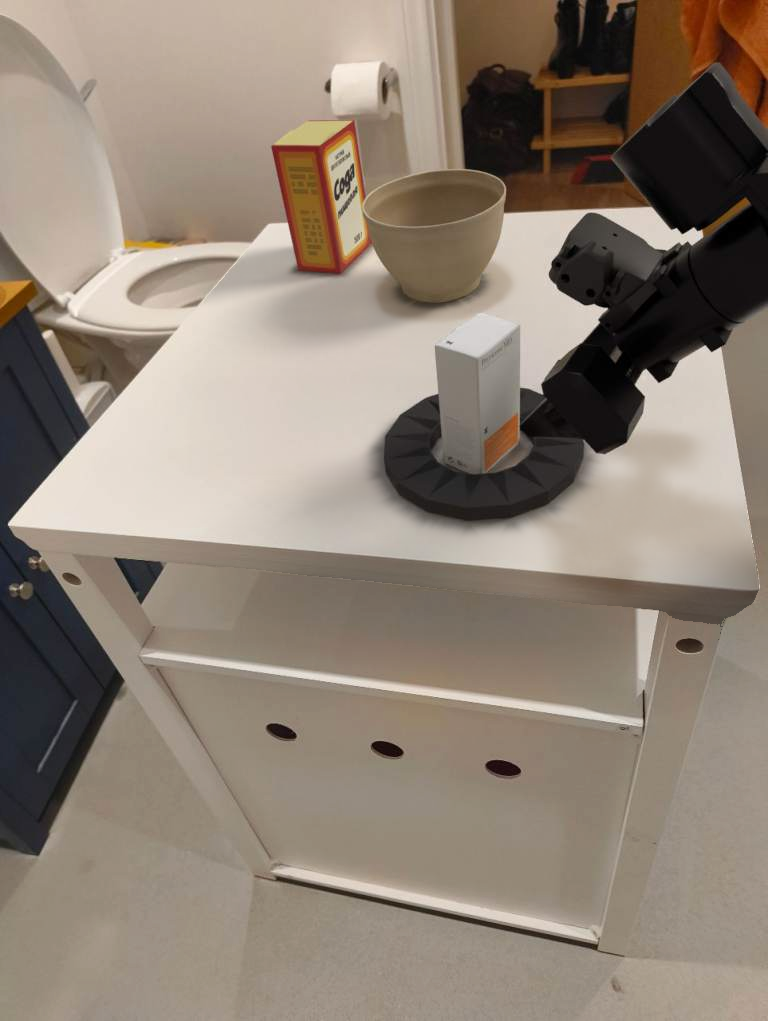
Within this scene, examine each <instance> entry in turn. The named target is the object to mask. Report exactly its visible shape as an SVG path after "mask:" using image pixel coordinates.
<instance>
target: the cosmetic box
mask: <svg viewBox="0 0 768 1021" xmlns="http://www.w3.org/2000/svg"><path fill="white" fill-rule="evenodd" d="M434 355H435V356H434V357H435V368H436V382H437V392H438V393H437V394H438V395H439V408H440V419H441V432H442V437H441V443H442V444H441V445H442V455H443V462H444V464H447V465H449V466H451V467H453V468H456V469H457V470H460V471H461V472H464V473H469V474H484V473H489V472H490V471H491V470H492V469H493V468H494V467H495V466H496V465H497V464H498V463H499V462H500V461H501V460H502V459H504V458H505V457H506V456H507V455H508V454H510V452H512V451H513V450H514V449H515V448H516V447H517V446H519V445H520V441H521V440H520V437H521V436H520V435H521V434H520V433H521V431H520V428H519V425H520V388H521V324H520V323H517V322H514V321H511V320H507V319H503V318H499V317H497V316H493V315H490V314H487V313H483V312H478V313H477V314H475V315H474V316H473V317H471V318H470V319H468V320H467V321H466V322H464V323H461V324H460V325H459V326H457V327H456V328H455V329H454V330H452V331H451V332H450V333H449V334H448V335H446V336H445V337H443V338H442V339H441V340H440V341H438V342H437V343H436V344H435V345H434Z"/></svg>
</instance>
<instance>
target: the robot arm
mask: <svg viewBox="0 0 768 1021" xmlns="http://www.w3.org/2000/svg"><path fill="white" fill-rule="evenodd" d="M610 159H611V160H612V162H613V163H614V164H615V166H617V168H618V169H619V170H620V171H621V172H622V174H623V175H624V176H625V177H626V178H627V180H629V182H630V183H631V184H632V186H633V187H634V188H635V190H637V192H638V193H639V194H640V195H641V196H642V198H644V199H645V201H646V202H647V204H648V205H649V206H650V207H651V208H652V210H654V212H655V213H656V214H657V215H658V217H659V218H660V219H661V220H662V221H663V222H664V224H665V225H666V226H667V227H668V228H669V230H671V231H673V230H675V229H677V230H678V232H679V233H680V234H681V235H684V234H686V233H688V232H689V231H691V230H692V229H694V230H696V232H701V231H703V230H704V229H706V228H708V227H709V226H711V225H713V224H714V223H715V222H717V221H718V220H719V219H720V218H722V217H723V216H725V215H726V214H727V213H728V212H729V211H731V210H732V209H733V208H735V206H736V205H738V204H739V203H741V202H742V201H743V200H744V199H746V200H747V201H748V202H749V203H748V204H746V205H745V206H743V207H742V208H740V209H739V210H738V211H737V212H735V213H733V214H732V215H731V216H730V217H729V218H727V219H725V220H724V221H723V222H722V223H720V224H718V226H716V227H715V228H714V229H712V230H711V231H710V232H707V234H705V235H704V236H702V238H700V239H698V240H697V241H696V242H695V243H693V244H691V243H690V242H689V241H688V240H687V241H686V242H684V243H683V244H682V243H681V242H677V243H675V244H674V245H673V246H671V247H670V248H669V249H659V248H655V247H653V246H651V245H650V244H649V242H647V241H646V240H645V239H644V238H642V237H641V236H639V235H638V234H636V233H634V232H632V231H631V230H629V229H627V228H626V227H624V226H623V225H620V224H618V223H617V222H615V221H613V220H612V219H610V218H608V217H606V216H604V214H603V215H602V214H600V213H598V212H587V213H586V214H583V216H582V217H581V218H580V220H579V221H578V222H577V223H576V224H575V225H574V227H573V228H572V229H570V231H569V232H568V234H567V236H566V237H565V240H564V242H563V243H562V245H561V248H560V250H559V252H558V253H557V254H556V256H555V257H554V258H553V259H552V261H551V264H550V269H549V271H548V278H549V279H550V281H551V282H552V283H553V284H554V285H555V286H556V289H557V290H558V292H561V293H562V294H563V295H565V296H567V297H569V298H571V299H573V300H574V301H576V302H578V303H579V304H580V305H583V306H586V307H588V306H593V305H595V306H596V307H599V308H602V309H606V310H605V311H604V312H602V314H601V315H600V316H599V317H598V319H597V321H598V324H597V325H596V326H595V327H594V328H593V329H592V331H590V332H589V334H588V335H587V336H586V337H585V338H584V340H582V342H581V343H579V344H577V345H576V346H574V347H573V348H572V349H570V350H569V351H568V352H567V353H566V354H564V355H563V356H562V357H561V358H560V359H558V360H557V361H556V362H555V364H554V365H553V366H552V368H551V369H550V370H549V372H548V373H547V375H546V376H545V377H544V379H543V381H542V382H541V383H540V386H541V387H540V388H541V391H542V395H543V396H544V397H545V399H544V400H543V401H542V402H541V403H540V404H539V405H538V406H537V407H536V408H535V409H534V410H533V411H532V412H531V413H530V414H529V415H528V416H527V417H526V418H525V420H524V421H523V422H522V423H521V424H520V425H519V428H520V429H521V430H522V431H523V432H524V433H525V434H526V435H527V436H529V437H564V438H576V439H583V441H584V442H585V443H586V444H587V446H589V447H590V449H592V451H594V453H595V454H599V455H606V454H608V453H610V452H612V451H615V450H616V449H617V448H620V447H622V446H624V445H626V444H627V443H628V441H629V440H630V438H631V436H632V434H633V432H634V431H635V428H636V427H637V425H638V423H639V421H640V420H641V418H642V416H643V414H644V411H645V410H644V409H645V401H646V396H645V395H644V393H643V392H641V390H640V388H638V387H637V386H636V384H637V382H638V381H639V379H640V377H641V375H642V374H643V372H644V371H645V370H646V371H647V372H648V373H649V374H650V375H651V377H652V378H653V379H654V380H655V381H656V382H657V383H658V384H660V383H662V382H664V381H665V380H667V379H669V378H671V377H672V375H673V374H674V372H675V370H676V369H677V366H678V364H679V362H680V361H681V360H683V359H686V358H687V357H688V356H690V355H692V354H693V353H695V352H697V351H698V350H700V349H702V348H704V347H706V348H707V349H708V350H709V352H710V353H713V352H715V351H717V350H719V349H720V348H722V347H724V346H726V345H727V343H728V340H729V338H730V337H731V335H732V332H733V330H734V329H735V328H737V327H739V326H740V325H742V324H743V323H745V322H746V321H748V320H750V319H752V318H753V317H755V316H756V315H759V314H760V313H762V312H763V311H765V310H767V309H768V129H767V127H766V126H765V125H764V123H763V122H762V121H761V119H760V118H759V117H758V116H757V114H756V113H755V112H754V111H753V109H752V108H751V107H750V106H749V104H748V103H747V102H746V100H745V99H744V98H743V97H742V95H741V94H740V92H739V91H738V88H737V85H736V83H735V81H734V79H733V77H732V76H731V75H730V73H729V71H727V69H726V68H725V67H724V66H723V65H722V63H721V62H713V63H712V64H711V65H710V66H709V67H707V69H706V70H704V72H702V73H701V75H699V76H698V77H697V78H696V79H694V81H692V82H691V83H690V84H689V85H688V86H687V87H686V88H685V89H683V90H682V91H681V92H680V93H679V94H678V95H676V94H675V93H674V94H673V95H672V96H670V98H668V100H667V101H665V103H663V104H662V105H661V107H659V108H658V109H657V111H655V112H654V113H653V114H652V115H651V116H650V117H649V118H648V119H647V120H646V121H645V122H644V123H643V124H642V125H641V126H640V127H639V128H638V129H636V130H635V131H634V132H633V133H632V135H631V136H629V137H628V138H627V139H626V140H625V141H624V142H623V144H621V145H620V146H619V147H618V148H617V150H616V151H614V152H613V154H611V155H610ZM522 431H521V432H522ZM523 432H522V433H523ZM524 433H523V434H524ZM525 434H524V435H525ZM526 435H525V436H526ZM527 436H526V437H527Z"/></svg>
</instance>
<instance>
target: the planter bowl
mask: <svg viewBox="0 0 768 1021" xmlns="http://www.w3.org/2000/svg"><path fill="white" fill-rule="evenodd" d="M365 197H366V198H365V199H364V201H363V204H362V212H363V216H364V219H365V221H366V223H367V228H368V232H369V236H370V239H371V242H372V243H371V245H372V247H373V250H374V252H375V253H376V256H377V258H378V259H379V261H380V263H381V264H382V265H383V267H384V268H385V269H386V271H387V272H388V273H389V274H390V276H391V277H393V278H394V279H395V280H396V282H398V283H399V284H400V287H401V289H402V292H403V293H404V295H405V296H407V297H408V298H410V299H412V300H415V301H418V302H423V303H445V302H451V301H455V300H458V299H461V298H464V297H466V296H467V295H470V294H471V293H473V292H474V291H475V290H476V289H477V288H478V287H479V285H480V283H481V279H482V274H483V272H484V271H485V270H486V268H487V267H488V264H489V263H490V262H491V261H492V258H493V256H494V254H495V252H496V249H497V246H498V244H499V241H500V238H501V234H502V230H503V225H504V218H505V217H504V215H505V203H506V200H507V199H506V197H507V186H506V185H505V183H504V181H503V180H502V179H500V177H497V176H496V175H493V174H491V173H488V172H486V171H485V172H484V171H481V170H475V169H468V168H448V169H433V170H427V171H422V172H416V173H413V174H409V175H405V176H402V177H399V178H396V179H393V180H391V181H388V182H385V183H383V184H382V185H380V186H378V187H377V188H375V189H374V190H372V191H370V193H368V194H367V196H365Z"/></svg>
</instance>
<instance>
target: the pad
mask: <svg viewBox="0 0 768 1021" xmlns="http://www.w3.org/2000/svg"><path fill="white" fill-rule="evenodd" d="M544 399H545V397H544V396H543V393H540V392H539V391H538V392H537V391H535V390H533V389H531V388H526V387H520V424H521V423H522V422H523V421H524V420H525V418H526V417H527V416H528V415H529V414H530V413H531V412H532V411H533V410H534V409H535V408H536V407H537V406H538V405H539V404H540V403H541V402H542V401H543V400H544ZM520 432H522V433H523V434H524V435H525V437H526V438H527V439H528V440H529V441H530V442H531V444H532V448H531V449H530V452H529V454H528V455H527V456H525V457H524V458H522V460H520V461H519V462H518V463H517V464H515V465H513V466H510V467H508V468H505V469H502V470H501V469H500V470H498V471H496V472H487V473H484V474H469V473H467V472H465V471H458V470H453V469H452V468H450V467H448V466H446V465H444V464H443V463H440V462H439V461H438V460H437V459H436V457H435V456H434V454H433V453H432V450H433V449H434V447H435V446H436V444H437V442H438V441H439V439H440V438H442V432H441V419H440V408H439V395H438V393H436V394H432V395H429V396H427V397H425V398H422V399H421V400H420V401H418V402H417V403H415V404H414V405H413V406H411V407H409V408H408V409H406V410H404V411H403V412H402V413H400V414H399V415H398V417H397V418H396V420H395V421H394V423H393V424H392V426H390V429H389V430H388V431H387V433H386V434H385V436H384V448H383V450H384V451H383V463H384V471H385V474H386V475H387V477H388V479H389V480H390V482H391V484H392V485H393V487H394V489H395V491H396V492H397V493H398V495H399V496H401V497H402V498H404V499H405V500H407V501H408V502H410V503H411V504H413V505H415V506H416V507H418V508H420V509H422V510H423V511H425V512H427V513H428V514H434V515H438V516H443V517H448V518H453V519H457V520H461V521H467V522H473V521H486V520H499V519H510V518H514V517H516V516H519V515H523V514H525V513H527V512H530V511H534V510H536V509H538V508H541V507H544V506H547V505H548V504H550V503H551V502H552V501H553V500H554V499H556V498H558V496H560V495H561V494H562V493H563V492H564V491H565V490H566V489H568V488H569V487H570V486H572V484H573V483H574V482H575V480H576V477H577V474H578V472H579V470H580V466H581V464H582V462H583V459H584V455H585V454H584V452H585V440H584V439H576V438H564V437H529V436H527V435H526V434H525V433H524V432H523V431H522V430H521V429H520Z"/></svg>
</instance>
